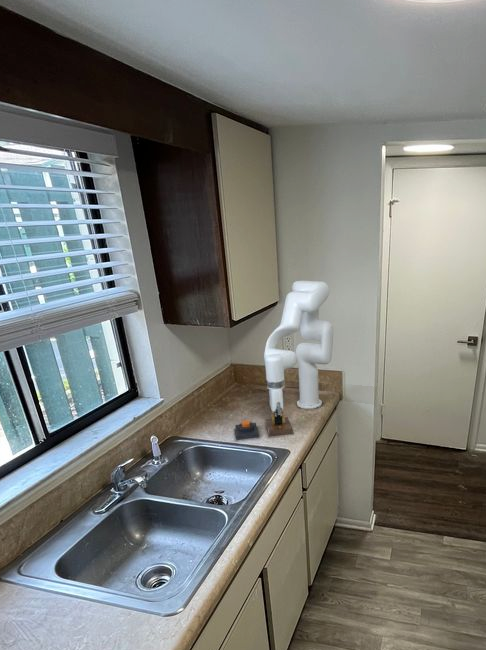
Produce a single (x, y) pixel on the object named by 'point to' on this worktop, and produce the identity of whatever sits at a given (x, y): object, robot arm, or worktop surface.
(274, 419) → the lock knob
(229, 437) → the worktop surface
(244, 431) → the doorbell
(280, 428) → the plate
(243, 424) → the bell button
